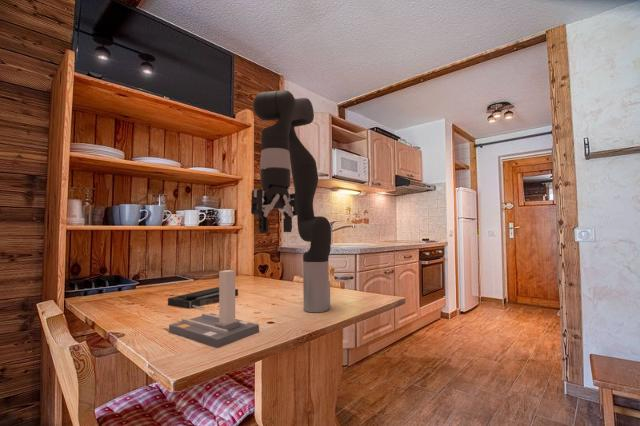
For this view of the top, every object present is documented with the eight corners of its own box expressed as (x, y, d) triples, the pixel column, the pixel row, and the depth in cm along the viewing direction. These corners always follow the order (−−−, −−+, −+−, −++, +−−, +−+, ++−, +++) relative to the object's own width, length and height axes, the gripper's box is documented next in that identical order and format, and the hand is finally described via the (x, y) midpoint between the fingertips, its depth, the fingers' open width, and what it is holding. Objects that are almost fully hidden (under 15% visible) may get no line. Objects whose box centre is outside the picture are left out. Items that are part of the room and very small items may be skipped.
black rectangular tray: (217, 284, 142) (250, 287, 133) (217, 293, 142) (250, 297, 133) (167, 295, 120) (202, 300, 111) (167, 306, 120) (202, 312, 111)
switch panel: (211, 319, 100) (211, 310, 100) (259, 331, 87) (258, 320, 87) (169, 331, 88) (169, 321, 88) (217, 347, 76) (217, 335, 76)
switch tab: (229, 324, 88) (229, 269, 88) (239, 326, 85) (239, 270, 86) (215, 329, 83) (215, 271, 84) (224, 331, 81) (224, 272, 82)
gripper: (283, 174, 86) (284, 232, 86) (243, 166, 75) (244, 233, 74) (304, 171, 82) (305, 232, 81) (265, 162, 70) (266, 233, 70)
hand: (276, 232), depth 78 cm, fingers open, 8 cm apart
